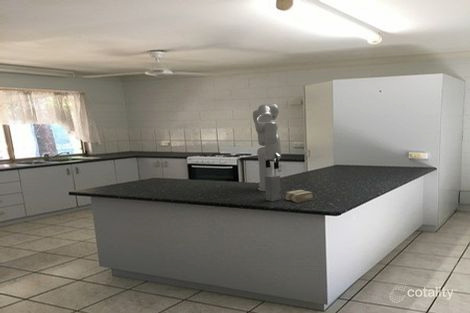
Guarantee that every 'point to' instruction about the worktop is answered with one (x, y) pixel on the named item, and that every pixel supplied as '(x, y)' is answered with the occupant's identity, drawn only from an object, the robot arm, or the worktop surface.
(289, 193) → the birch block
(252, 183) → the worktop surface
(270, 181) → the skincare box
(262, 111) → the robot arm
